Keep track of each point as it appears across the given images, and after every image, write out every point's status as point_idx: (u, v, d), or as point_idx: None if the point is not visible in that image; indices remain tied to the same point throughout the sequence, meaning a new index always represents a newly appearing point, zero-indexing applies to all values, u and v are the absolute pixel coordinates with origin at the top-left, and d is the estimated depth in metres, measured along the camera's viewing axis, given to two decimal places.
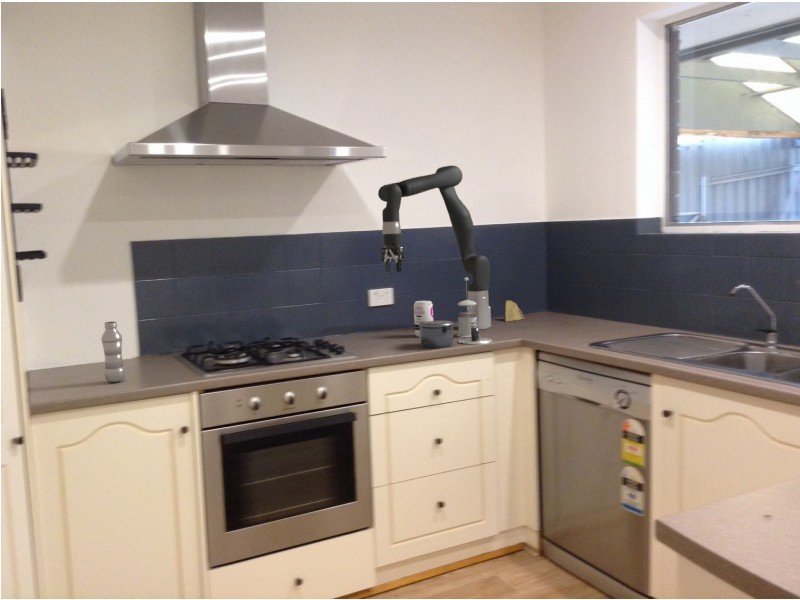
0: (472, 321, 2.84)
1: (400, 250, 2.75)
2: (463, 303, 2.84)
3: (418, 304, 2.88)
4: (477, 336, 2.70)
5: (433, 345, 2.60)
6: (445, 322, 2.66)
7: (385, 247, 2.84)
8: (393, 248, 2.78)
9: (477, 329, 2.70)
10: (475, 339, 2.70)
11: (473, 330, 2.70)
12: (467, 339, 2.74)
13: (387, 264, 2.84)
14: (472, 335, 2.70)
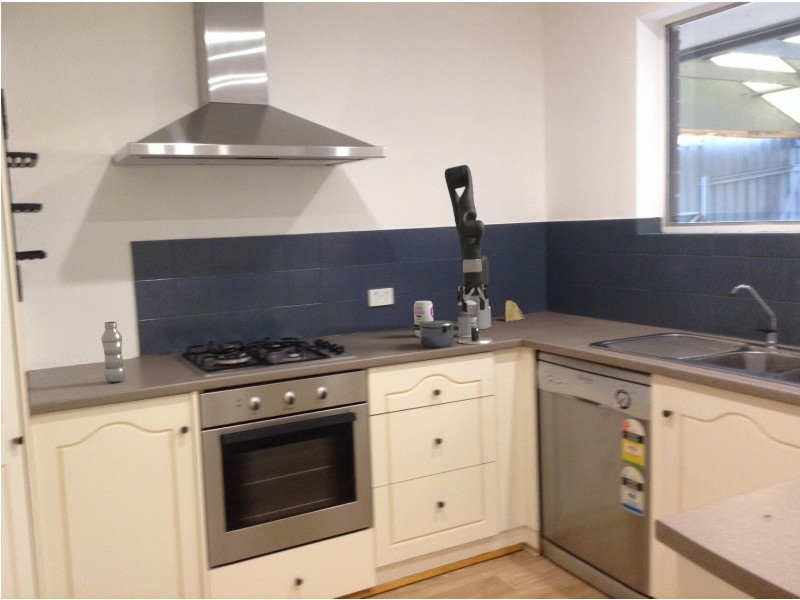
0: (472, 321, 2.84)
1: None
2: None
3: (418, 304, 2.88)
4: (477, 336, 2.70)
5: (433, 345, 2.60)
6: (445, 322, 2.66)
7: None
8: (479, 286, 2.70)
9: (477, 329, 2.70)
10: (475, 339, 2.70)
11: (473, 330, 2.70)
12: (467, 339, 2.74)
13: None
14: (472, 335, 2.70)
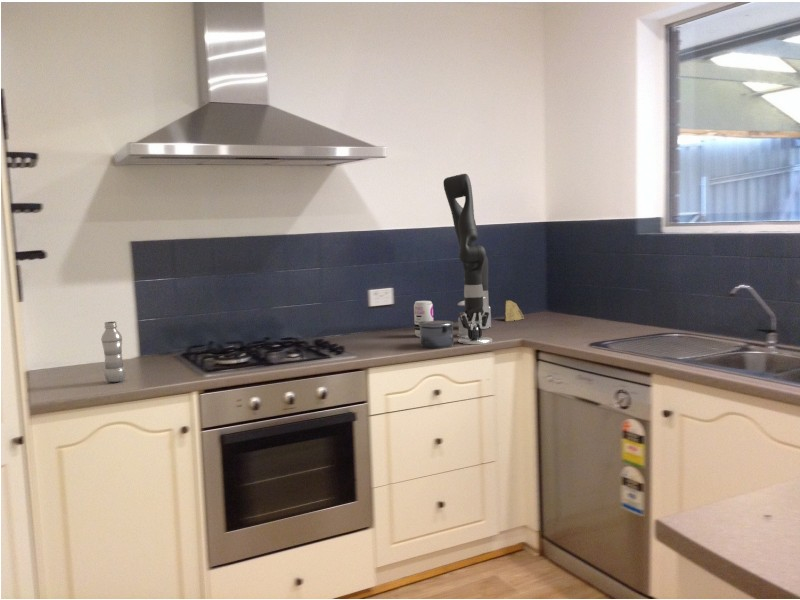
0: None
1: None
2: (463, 303, 2.84)
3: (418, 304, 2.88)
4: (477, 335, 2.70)
5: (433, 345, 2.60)
6: (445, 322, 2.66)
7: (465, 313, 2.68)
8: (481, 310, 2.71)
9: (477, 328, 2.70)
10: (475, 338, 2.70)
11: (473, 329, 2.70)
12: (467, 338, 2.74)
13: None
14: None
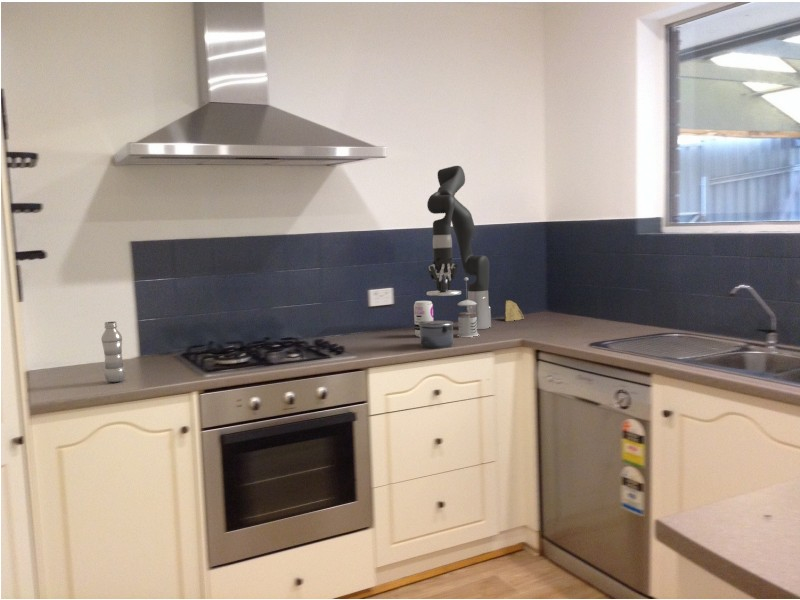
0: (472, 321, 2.84)
1: None
2: (463, 303, 2.84)
3: (418, 304, 2.88)
4: (446, 287, 2.64)
5: (433, 345, 2.60)
6: (445, 322, 2.66)
7: (433, 264, 2.61)
8: (450, 262, 2.65)
9: (446, 280, 2.64)
10: (444, 290, 2.64)
11: (442, 281, 2.64)
12: (436, 291, 2.68)
13: None
14: None
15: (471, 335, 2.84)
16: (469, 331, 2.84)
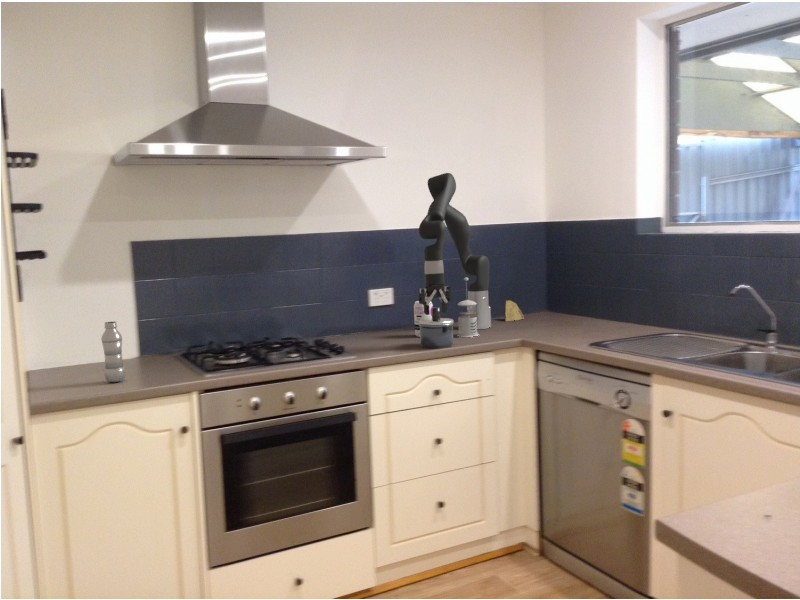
0: (472, 321, 2.84)
1: None
2: (463, 303, 2.84)
3: (418, 304, 2.88)
4: (438, 316, 2.64)
5: (433, 345, 2.60)
6: None
7: (425, 288, 2.62)
8: (441, 288, 2.65)
9: (438, 309, 2.64)
10: (436, 319, 2.64)
11: (434, 310, 2.64)
12: (428, 319, 2.69)
13: None
14: (433, 315, 2.65)
15: (471, 335, 2.84)
16: (469, 331, 2.84)
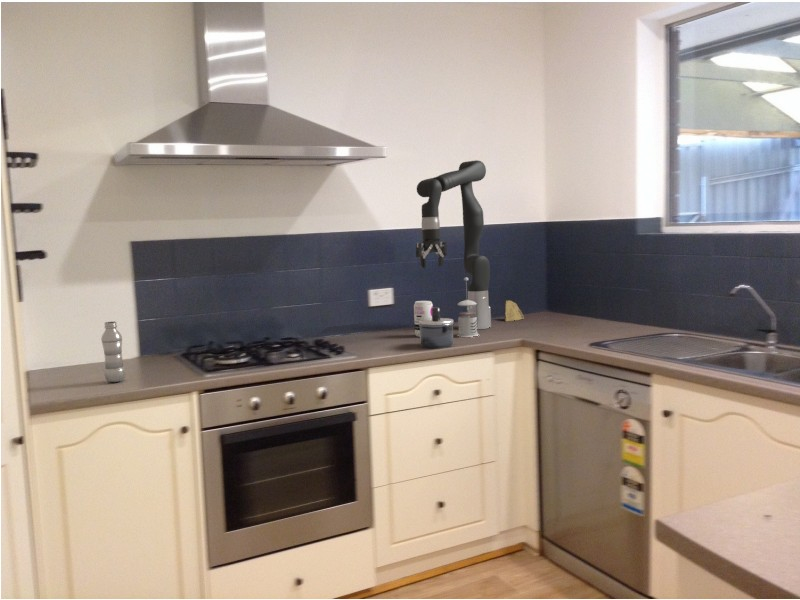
0: (472, 321, 2.84)
1: None
2: (463, 303, 2.84)
3: (418, 304, 2.88)
4: (438, 316, 2.64)
5: (433, 345, 2.60)
6: None
7: (422, 243, 2.79)
8: (437, 243, 2.82)
9: (438, 309, 2.64)
10: (436, 319, 2.64)
11: (434, 310, 2.64)
12: (428, 319, 2.69)
13: None
14: (433, 315, 2.65)
15: (471, 335, 2.84)
16: (469, 331, 2.84)
